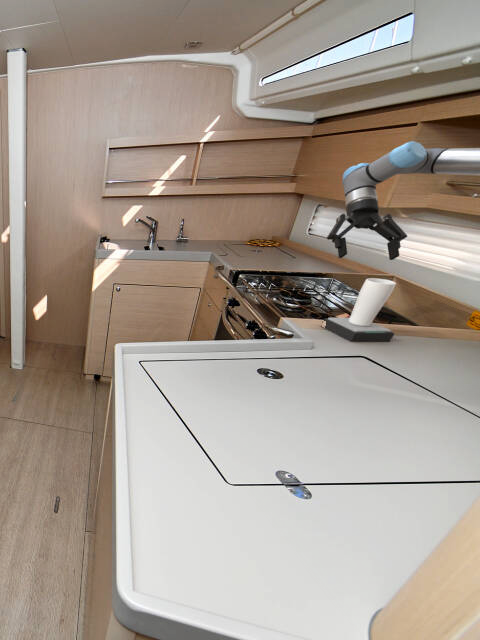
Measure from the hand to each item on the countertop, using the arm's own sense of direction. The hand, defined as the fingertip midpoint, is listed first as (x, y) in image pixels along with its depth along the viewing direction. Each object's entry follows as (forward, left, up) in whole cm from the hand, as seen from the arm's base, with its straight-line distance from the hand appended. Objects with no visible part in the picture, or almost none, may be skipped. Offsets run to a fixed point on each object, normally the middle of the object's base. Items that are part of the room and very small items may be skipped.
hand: (368, 257), depth 119 cm
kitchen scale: (-10, +3, -24) cm, 26 cm away
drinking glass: (-10, +3, -20) cm, 23 cm away
